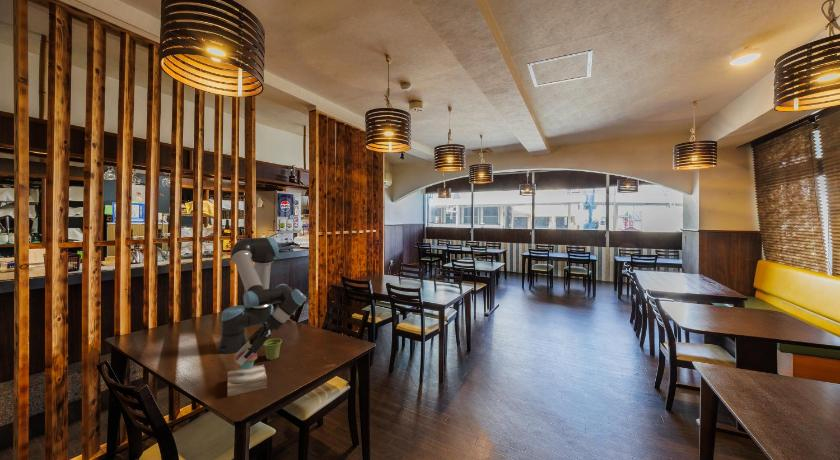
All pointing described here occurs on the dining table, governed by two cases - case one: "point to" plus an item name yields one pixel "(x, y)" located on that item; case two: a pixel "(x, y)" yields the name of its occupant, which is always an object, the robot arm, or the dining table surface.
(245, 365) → the cupcake
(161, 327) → the dining table surface
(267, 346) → the plant pot
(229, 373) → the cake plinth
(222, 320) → the robot arm
